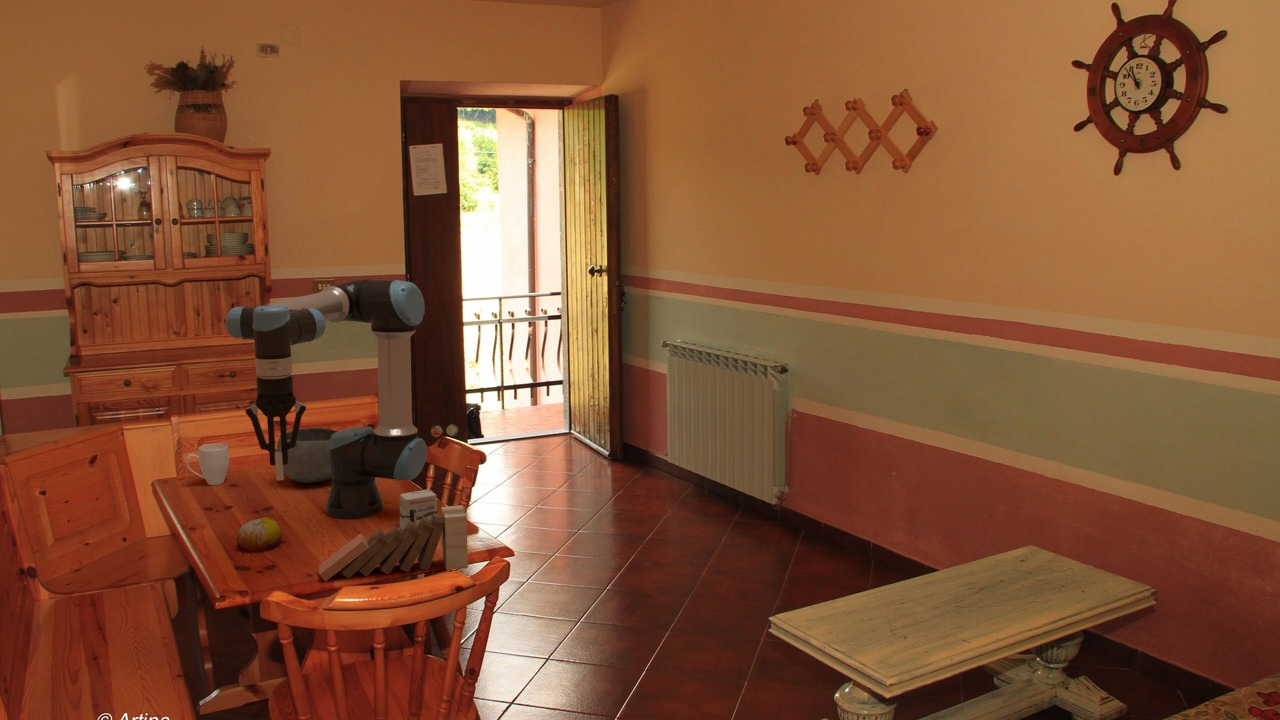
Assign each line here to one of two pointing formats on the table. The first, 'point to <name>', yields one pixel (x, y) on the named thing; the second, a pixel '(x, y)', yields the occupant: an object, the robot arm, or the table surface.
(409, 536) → the domino
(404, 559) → the domino
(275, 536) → the fruit
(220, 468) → the mug
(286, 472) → the bowl
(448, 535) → the bookend block
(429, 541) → the domino
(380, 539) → the domino
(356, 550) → the domino
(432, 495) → the ink box
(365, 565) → the domino
